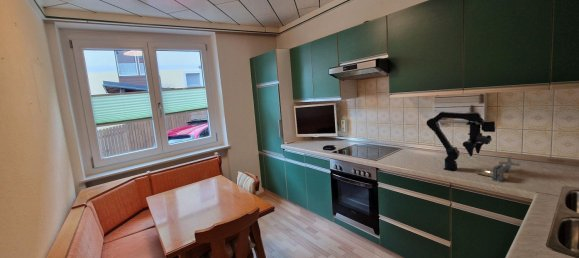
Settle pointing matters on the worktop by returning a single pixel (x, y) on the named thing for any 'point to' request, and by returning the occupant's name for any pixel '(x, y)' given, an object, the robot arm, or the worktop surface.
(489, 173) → the tube
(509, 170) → the pipe connector
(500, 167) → the firebox collars
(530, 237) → the worktop surface
